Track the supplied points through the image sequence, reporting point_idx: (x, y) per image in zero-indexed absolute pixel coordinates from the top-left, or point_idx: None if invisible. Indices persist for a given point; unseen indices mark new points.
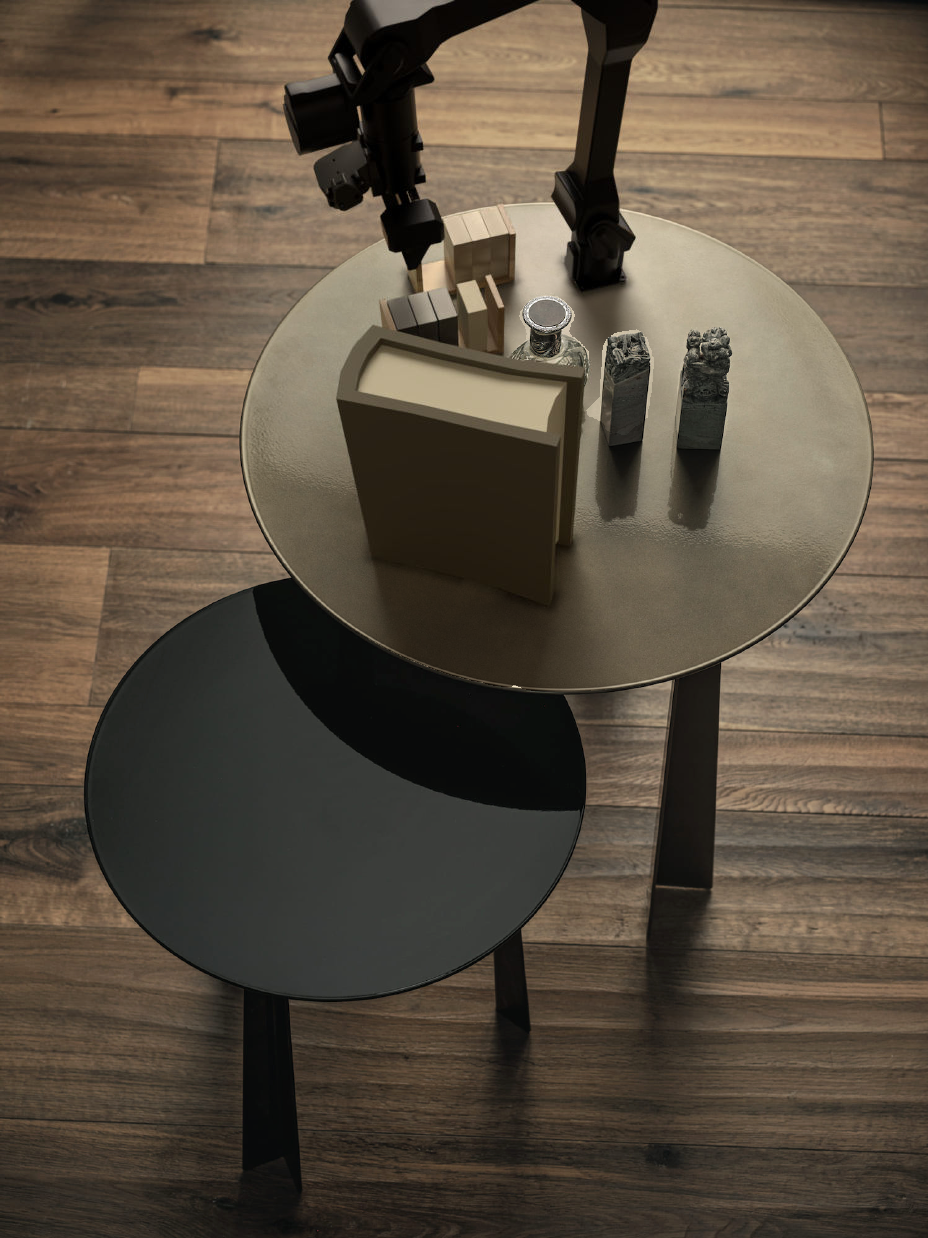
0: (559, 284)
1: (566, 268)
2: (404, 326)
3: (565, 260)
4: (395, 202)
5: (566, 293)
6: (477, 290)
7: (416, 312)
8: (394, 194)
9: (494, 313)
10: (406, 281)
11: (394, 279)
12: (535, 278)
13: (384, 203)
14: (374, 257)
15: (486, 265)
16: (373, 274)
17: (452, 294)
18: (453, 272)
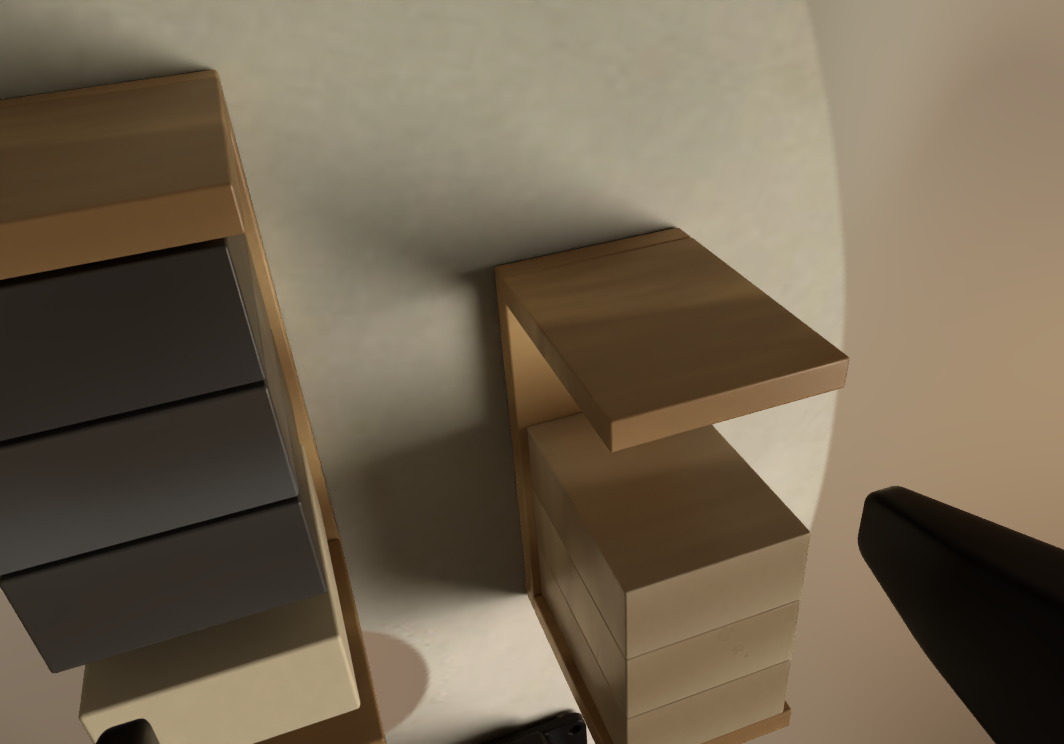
0: (478, 708)
1: (527, 736)
2: None
3: (565, 723)
4: (957, 640)
5: (435, 729)
6: (277, 727)
7: (81, 449)
8: (1037, 712)
9: None
10: (632, 219)
11: (659, 165)
12: (521, 648)
13: (996, 572)
14: (812, 83)
15: (564, 587)
16: (719, 66)
17: (508, 404)
18: (567, 466)
